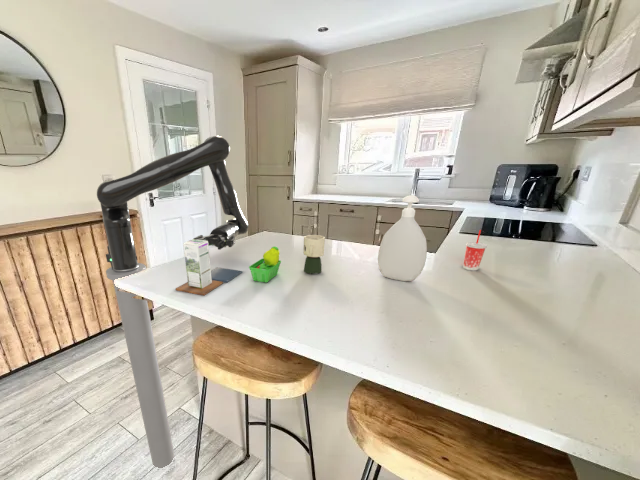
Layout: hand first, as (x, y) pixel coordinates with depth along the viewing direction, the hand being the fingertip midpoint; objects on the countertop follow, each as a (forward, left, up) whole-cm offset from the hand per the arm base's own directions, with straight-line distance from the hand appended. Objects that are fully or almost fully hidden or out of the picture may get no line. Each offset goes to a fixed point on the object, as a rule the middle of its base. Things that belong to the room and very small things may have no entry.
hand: (206, 246), depth 104 cm
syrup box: (+2, -8, -11) cm, 14 cm away
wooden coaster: (+2, -8, -11) cm, 14 cm away
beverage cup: (+83, +45, -12) cm, 95 cm away
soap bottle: (+60, +25, -12) cm, 66 cm away
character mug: (+32, +19, -12) cm, 39 cm away
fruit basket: (+19, +8, -12) cm, 23 cm away
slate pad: (+3, +4, -11) cm, 12 cm away
